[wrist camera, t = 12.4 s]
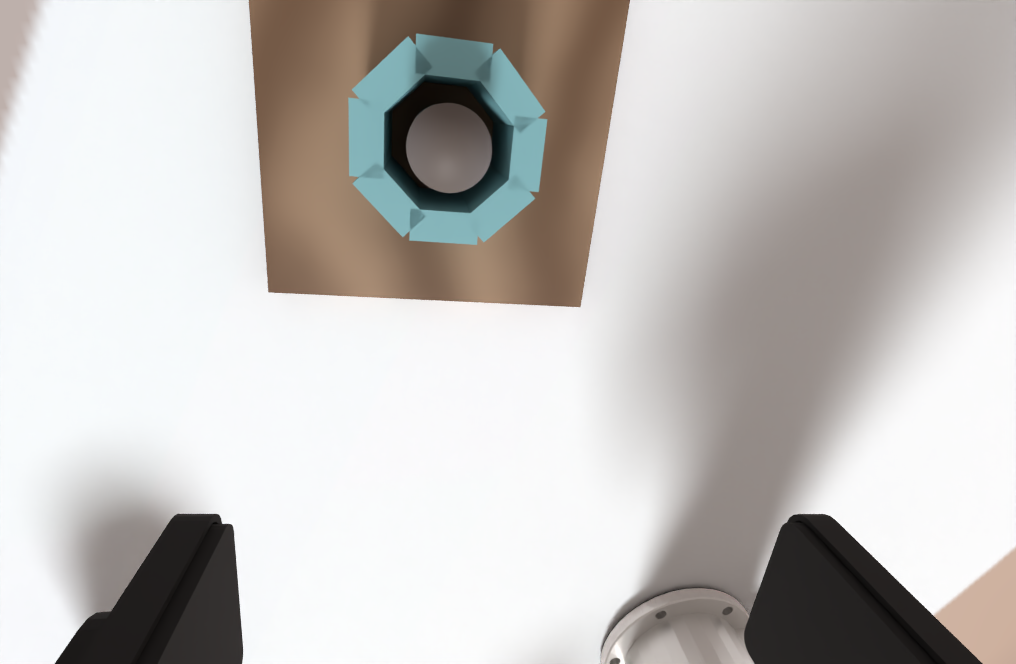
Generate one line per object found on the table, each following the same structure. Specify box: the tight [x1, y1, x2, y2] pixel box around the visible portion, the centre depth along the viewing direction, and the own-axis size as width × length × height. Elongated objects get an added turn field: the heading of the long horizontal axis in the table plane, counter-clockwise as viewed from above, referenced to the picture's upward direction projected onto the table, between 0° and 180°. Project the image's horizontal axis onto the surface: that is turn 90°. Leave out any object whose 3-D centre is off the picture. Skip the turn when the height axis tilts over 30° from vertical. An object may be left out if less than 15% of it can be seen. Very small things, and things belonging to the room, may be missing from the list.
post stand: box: [249, 0, 630, 307], centre depth 22 cm, size 16×16×10 cm
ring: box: [348, 34, 547, 245], centre depth 22 cm, size 7×7×6 cm
